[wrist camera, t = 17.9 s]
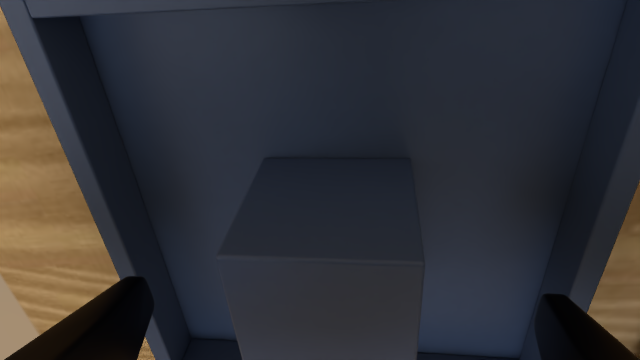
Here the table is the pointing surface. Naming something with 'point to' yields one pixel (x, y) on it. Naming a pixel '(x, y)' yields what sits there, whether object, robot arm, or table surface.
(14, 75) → the table surface
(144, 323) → the robot arm
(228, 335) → the slate tray
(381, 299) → the slate block
